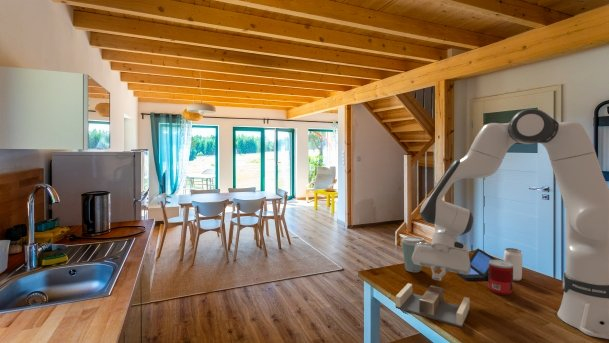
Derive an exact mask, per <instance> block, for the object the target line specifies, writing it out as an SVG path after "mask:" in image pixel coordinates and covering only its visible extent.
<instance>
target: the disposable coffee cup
mask: <svg viewBox="0 0 609 343" xmlns="http://www.w3.org/2000/svg"><path fill="white" fill-rule="evenodd" d="M420 242H423V243H427V242H426V238H424V237H421V236H405V237H403V238H401V246H402V247H401V248H402V253H403V263H404V268H405V270H406V271H407V272H410V273H419V272H421V270H422V266H421V265H416V264H414V263H413V261H412V255H413V252H414V248H415V245H416V244H417V243H420Z"/></svg>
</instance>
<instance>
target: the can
mask: <svg viewBox="0 0 609 343" xmlns="http://www.w3.org/2000/svg"><path fill="white" fill-rule="evenodd" d="M503 261H507V262H510V263H512V264H513V281H521V280H522V276H523V253H522V250H520V249H518V248H515V247H514V248H513V247H507V248H505V250H504V252H503Z"/></svg>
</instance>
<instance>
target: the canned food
mask: <svg viewBox="0 0 609 343" xmlns="http://www.w3.org/2000/svg"><path fill="white" fill-rule="evenodd" d="M487 280H488V283H487V287H488V289H489V291H491V292H493V293H495V294H498V295H503V296H508V295H511V294H512V293H513V289H514V288H513V286H514V280H513V264H512V263H510V262H507V261H504V259H503V260H502V259H496V260H490V261H489V274H488V276H487Z"/></svg>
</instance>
